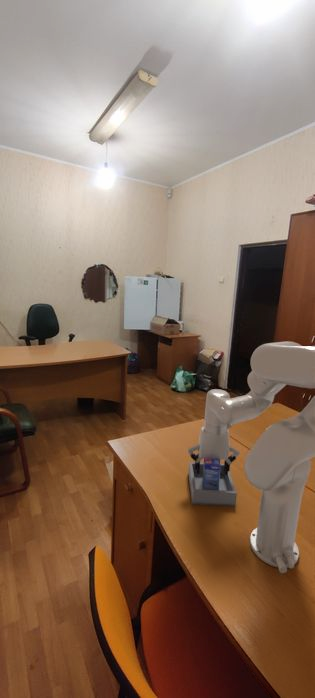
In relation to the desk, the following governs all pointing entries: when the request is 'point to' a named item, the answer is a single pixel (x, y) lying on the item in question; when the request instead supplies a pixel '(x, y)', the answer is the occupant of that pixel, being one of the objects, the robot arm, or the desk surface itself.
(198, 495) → the bin
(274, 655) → the desk surface
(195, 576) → the desk surface
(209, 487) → the ink cartridge box
